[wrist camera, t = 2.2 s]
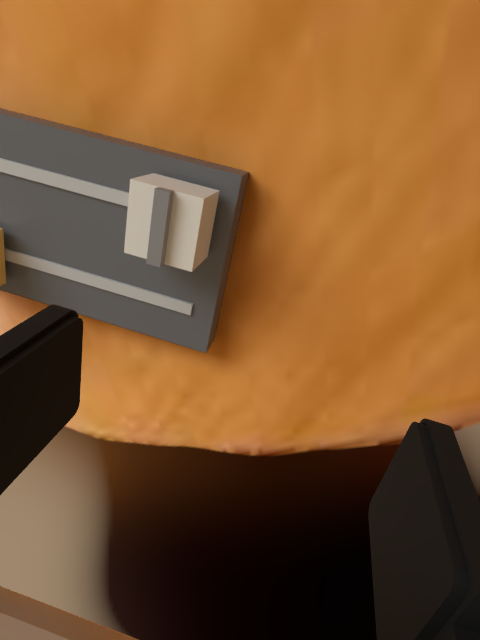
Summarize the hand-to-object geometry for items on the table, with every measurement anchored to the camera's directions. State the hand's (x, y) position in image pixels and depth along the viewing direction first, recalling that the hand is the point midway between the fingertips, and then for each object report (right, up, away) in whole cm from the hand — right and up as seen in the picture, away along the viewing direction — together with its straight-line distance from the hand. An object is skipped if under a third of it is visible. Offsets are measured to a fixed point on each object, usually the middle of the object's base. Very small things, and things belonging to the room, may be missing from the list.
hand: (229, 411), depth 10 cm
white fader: (-3, +8, +15) cm, 17 cm away
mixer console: (-10, +9, +19) cm, 23 cm away
